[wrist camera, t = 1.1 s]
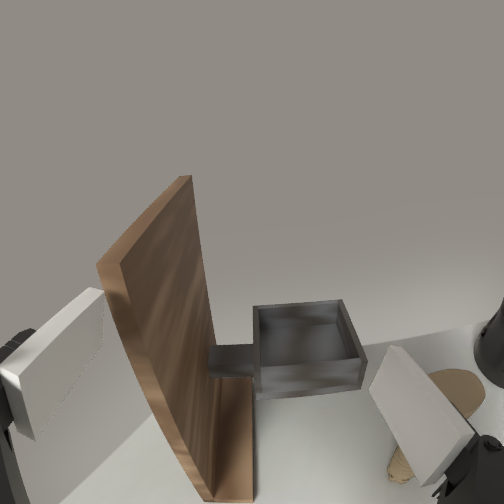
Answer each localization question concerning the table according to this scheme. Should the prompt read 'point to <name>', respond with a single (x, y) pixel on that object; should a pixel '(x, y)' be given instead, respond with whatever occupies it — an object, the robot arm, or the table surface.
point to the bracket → (214, 347)
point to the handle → (455, 390)
